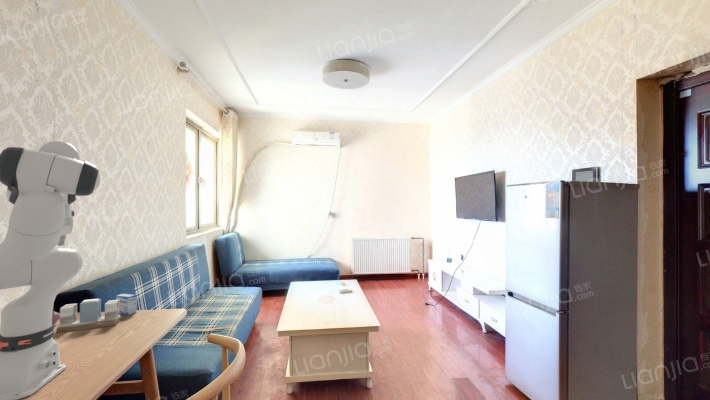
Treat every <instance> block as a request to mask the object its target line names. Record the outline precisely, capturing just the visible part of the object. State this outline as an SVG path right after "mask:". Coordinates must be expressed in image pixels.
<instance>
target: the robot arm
mask: <svg viewBox="0 0 710 400" xmlns="http://www.w3.org/2000/svg"><path fill="white" fill-rule="evenodd" d="M100 182H101V174H100V169H99V168H98V167H97V166H96V165H95V164H92V163H91V162H89V161H87V160H82V159H81V156H80V153H79V151H78V150H77V148H75V146H73V145H72V144H71V143H68V142H66V141H61V140H52V141H47V142H46V143H44V144H42V145H41V146H40V148H39V149H38V150H36V149H35V150H34V149H27V148H26V147H19V146H18V147H17V146H9V147H6V148H5V149H3V150H2V151H1V152H0V183H1V184H2V185H4V186H5V187H7V188H6V192H5V193H6V198H7V200H8V202H10V204H12V205H13V207H12V209H11V211H10V212H11V213H10V215H9V221H8V227H7V231H6V235H5V238H4V239H3V241H1V243H0V291H1V290H8V289H14V288H21V287H28V286H29V287H30V288H29V290H28V291H27V292H26V293H24V294H23V295H20V296H19V297H17V298H15V299H12V300H11V301H9V302H8V303H7V304H5V306H4V307H3V308H2V309H1V312H0V400H20V399H23V398H27V397H28V396H31V395H33V394H35V393H36V392H37V391H38V390H40V389H41V388H42V387H43V386H45V385H46V384H47V383H49V382H50V381H51V380H53V379H54V378H56V376H57V375H59V374H60V373H62V372H63V371H64V370H66V369H67V367H66V364H64V363H61V352H60V343H59V342H57V341H56V340H55V339H54V336H55V335H54V334H55V333H54V332H55V324H54V325H53V324H52V312H53V311H54V302H55V301H56V297H57V295H58V294H59V292H60V291H61V289H63V287H64V285H65V284H67V283H68V282H69V281H70V280H72V279H73V278H74V277H76V276H77V275H78V274H79V273H80V272H81V269H82V267H83V263H84V261H83V260H84V259H83V256H82V255H81V253H80V252H79V251H78V250H76V249H75V248H70V247H69V248H68V247H62V246H65V245H66V244H65V243H66V239H67V235H70V234H71V233H72V232H73V228H74V217H75V215H76V214H75V213H76V212H75V211H74V210H73V209H72V204H74V203H75V201H77V198H76V197H77V196H79V197H87V196H90V195H92V194H93V193H94V191H96V189H97V188H98V187H99V185H100ZM57 246H58V247H57ZM57 377H58V376H57Z"/></svg>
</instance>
